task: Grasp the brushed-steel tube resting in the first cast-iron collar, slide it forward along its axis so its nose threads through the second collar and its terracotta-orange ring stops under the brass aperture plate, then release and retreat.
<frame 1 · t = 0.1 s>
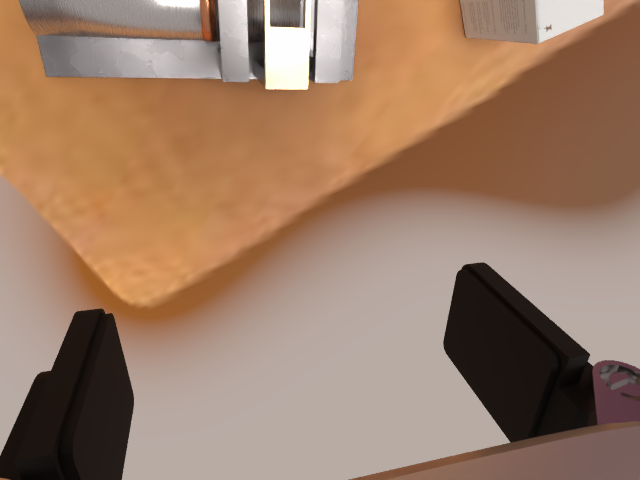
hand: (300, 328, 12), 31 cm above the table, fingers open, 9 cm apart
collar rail: (225, 5, 35), on the table
tube: (173, 2, 33), point 1 cm above the table, touching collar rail
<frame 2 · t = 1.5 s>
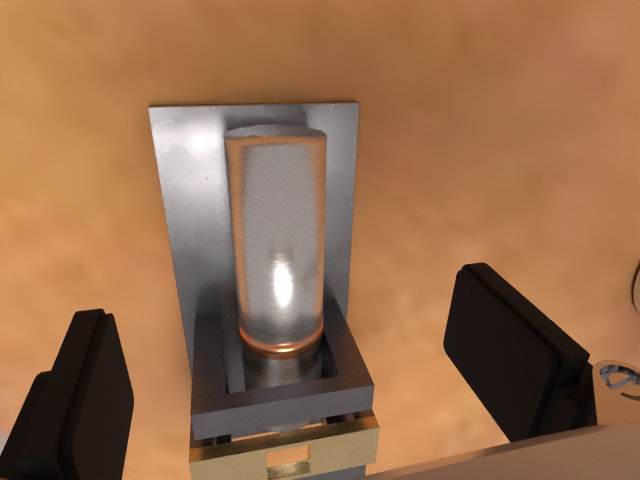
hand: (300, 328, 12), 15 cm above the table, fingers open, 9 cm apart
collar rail: (267, 314, 29), on the table
tube: (266, 269, 27), point 1 cm above the table, tilted 12°, touching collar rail
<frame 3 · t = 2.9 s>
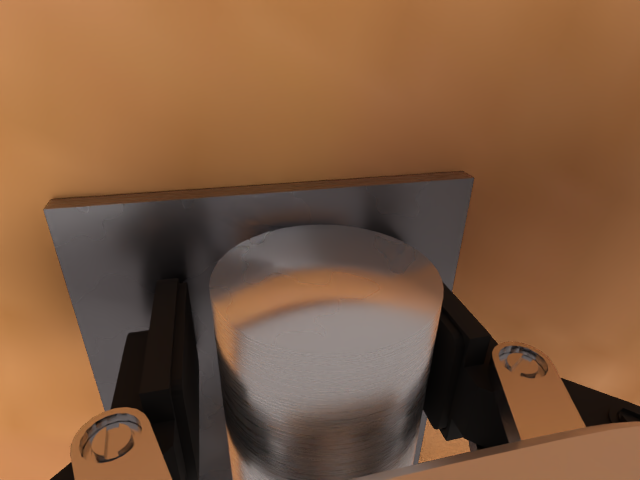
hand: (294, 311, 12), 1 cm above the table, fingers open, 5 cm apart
tube: (289, 451, 16), point 1 cm above the table, tilted 12°, touching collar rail, gripper
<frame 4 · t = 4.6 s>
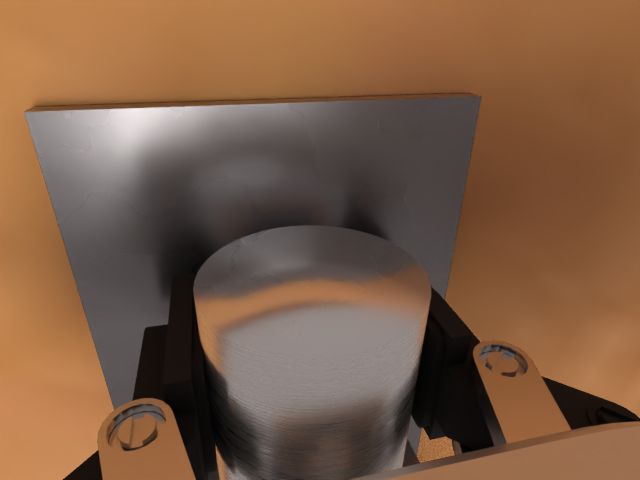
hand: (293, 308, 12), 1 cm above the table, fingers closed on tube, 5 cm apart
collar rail: (288, 456, 17), on the table
tube: (284, 452, 15), point 1 cm above the table, tilted 8°, touching gripper
when the fingers open (1 cm above the table, at t = 6.2 s): tube stays where it is, resting on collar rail.
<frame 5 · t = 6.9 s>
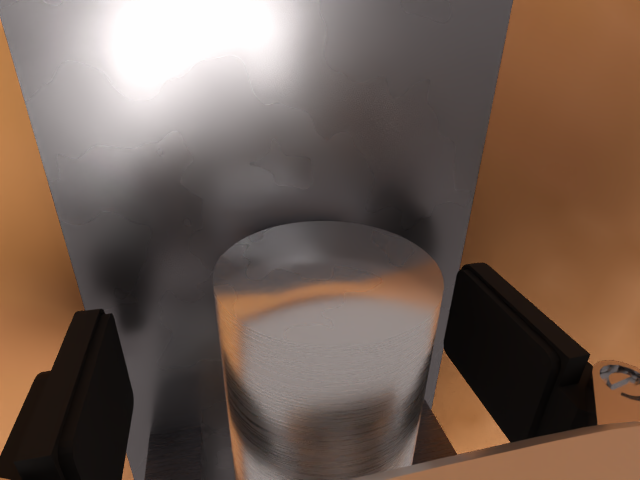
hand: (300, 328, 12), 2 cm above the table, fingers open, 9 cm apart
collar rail: (289, 413, 16), on the table
tube: (287, 448, 16), point 1 cm above the table, tilted 15°, touching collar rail
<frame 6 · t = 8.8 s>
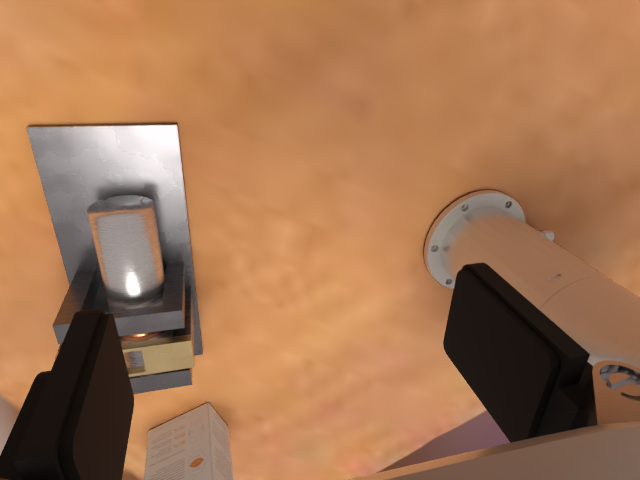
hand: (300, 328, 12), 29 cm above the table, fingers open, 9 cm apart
small box: (189, 426, 53), on the table
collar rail: (133, 271, 41), on the table
tube: (131, 284, 41), point 1 cm above the table, tilted 19°, touching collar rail
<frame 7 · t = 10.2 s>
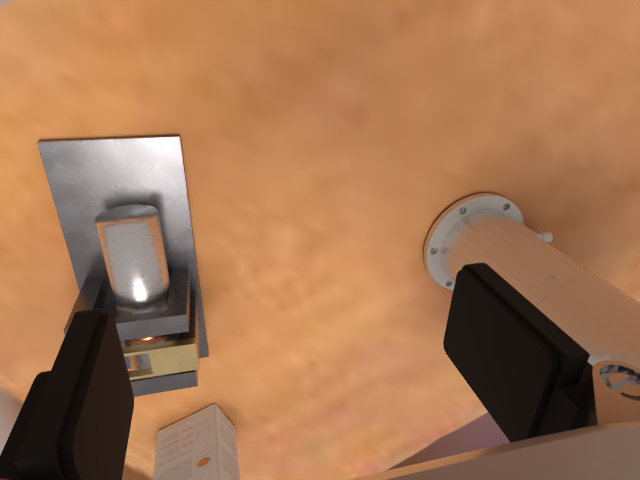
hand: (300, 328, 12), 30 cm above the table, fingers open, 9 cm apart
small box: (197, 426, 54), on the table
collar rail: (140, 277, 43), on the table
tube: (138, 289, 43), point 1 cm above the table, tilted 19°, touching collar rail
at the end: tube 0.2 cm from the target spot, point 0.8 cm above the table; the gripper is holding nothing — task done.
